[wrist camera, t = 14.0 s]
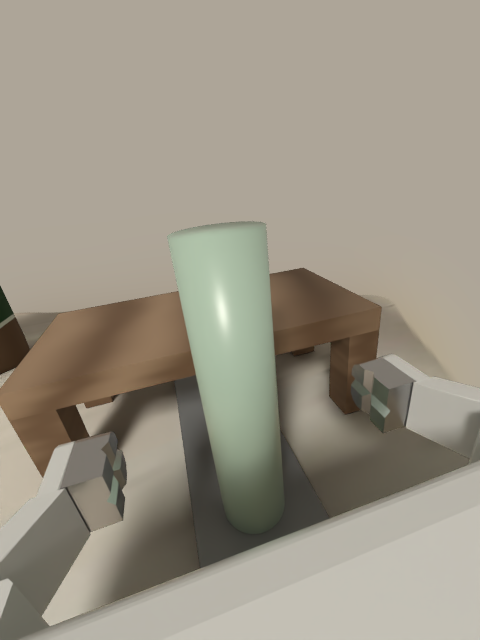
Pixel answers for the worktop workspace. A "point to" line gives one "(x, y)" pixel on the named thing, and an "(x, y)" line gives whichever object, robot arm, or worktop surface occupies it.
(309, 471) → the worktop surface
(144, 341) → the bench
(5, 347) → the beer bottle
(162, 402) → the worktop surface
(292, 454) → the cylinder
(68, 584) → the worktop surface
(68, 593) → the worktop surface
